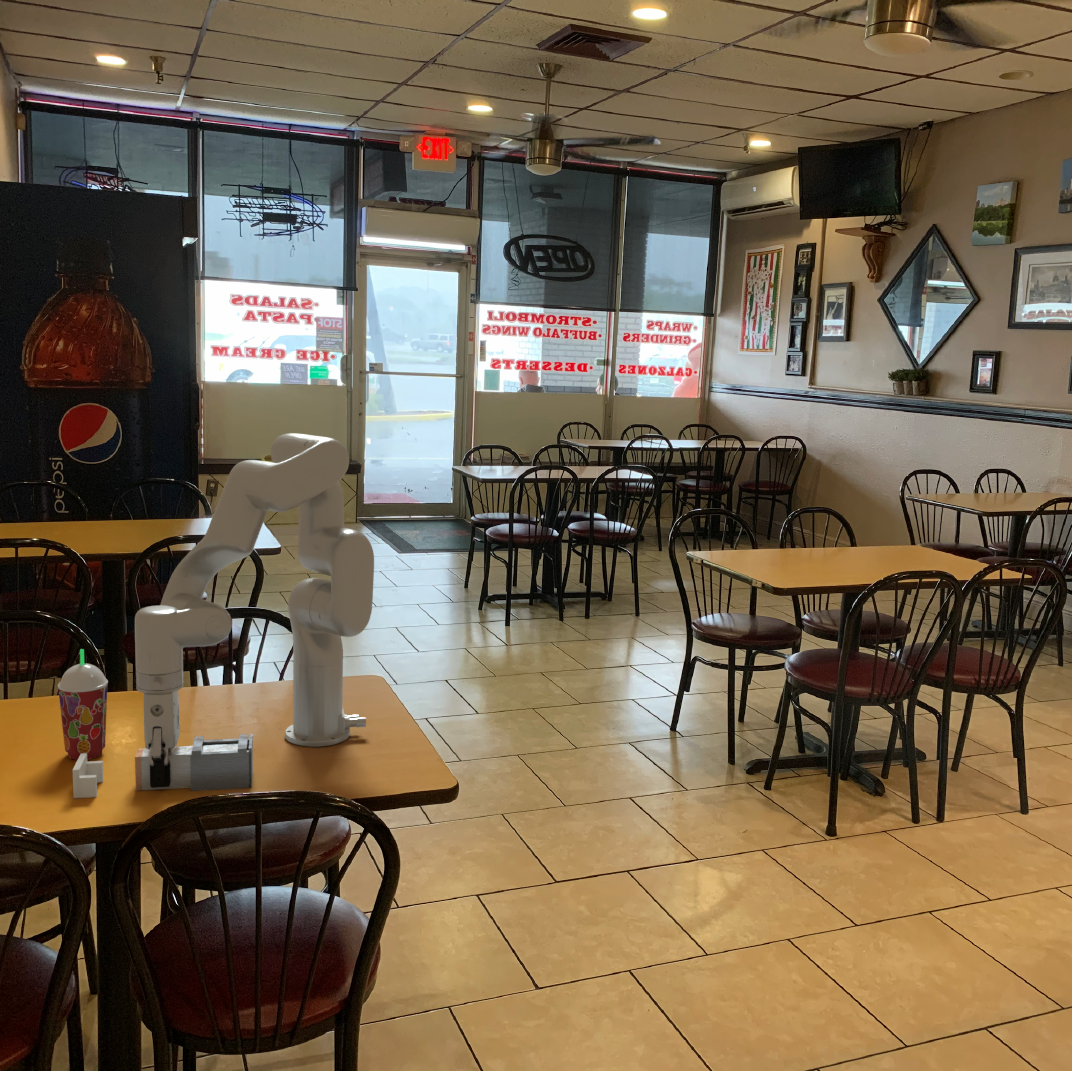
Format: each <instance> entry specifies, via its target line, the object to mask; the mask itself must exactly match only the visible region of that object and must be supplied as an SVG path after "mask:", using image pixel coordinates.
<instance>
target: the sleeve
mask: <svg viewBox="0 0 1072 1071" xmlns="http://www.w3.org/2000/svg"><path fill="white" fill-rule="evenodd" d="M253 737H254V734H253V733H250V734H248V733H243V734H238V737H237V738H219V739H217V738H216V739H215V738H214V739H205V736H204V735H203V736H194V739H193V741H192V746H193V748H192V753H191V754H190V770H191V788H190V792H194V791H195V792H199V791H200V792H201V791H216V790H218V791H219V790H232V789H233V790H235V789H236V790H237V789H252V787H253V775H254V773H253V772H254V751H253V750H254V741H253V740H254V738H253ZM221 744H238V750H237V751H217V752H202V747H203V745H221Z"/></svg>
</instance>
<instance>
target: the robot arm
mask: <svg viewBox="0 0 1072 1071" xmlns="http://www.w3.org/2000/svg"><path fill="white" fill-rule="evenodd" d="M270 457H271V461H272V462H271V461H266V460H259V459H258V460H257V459H248V460H247V459H246V460H242V461H240V462H237V463H236V464H235V465H234V466H233V467H232V469H231V470H230V472H229V473H228V474H229V475H228V476H227V479H226V482H225V483H224V486H223V490H222V492H221V494H220V497H219V499H218V502H217V504H216V506H215V510H214V511H213V515H212V517H211V520H210V522H209V525H208V528H207V530H206V533H205V535H204V536H203V538H201V540H200V541H199V542H198V543H197V544H196V545H194V547H192V549H191V550H189V552H188V553H187V554H186V555H185V556H184V557H183V558H182V560H180V562H179V563H178V564H177V566H176V567H175V568H174V571H172V573H171V576H170V578H169V580H168V583H167V585H166V588H165V590H164V593H163V596H162V598H161V602H160V604H159V605H150V606H145V607H141V608H140V609H139V610H137V612H136V613H135V616H134V643H135V644H134V645H135V646H134V648H135V649H134V650H135V678H136V679H135V684H136V685H135V687H136V688H135V689H136V691H138V692H140V693H142V694H143V729H144V730H143V734H144V735H143V736H144V746H145V747H144V748H146V749H148V750H150V787H152V788H157V787H169V786H170V763H168V748H172V749H174V748H175V747H178V746H177V745H178V742H179V737H180V734H181V733H180V732H181V722H180V720H181V719H180V698H179V690H181V689H182V688H183V687H184V656H183V655H184V654H183V652H184V651H183V649H184V648H191V647H194V648H195V647H196V648H197V647H209V646H210V647H211V646H214V645H216V644H220V643H221V642H222V641H224V640H225V639H227V637H228V636H229V634H230V633H231V630H232V627H233V620H232V617H231V614H230V613H229V611H228V610H227V609H226V608H225V607H223V606H222V605H219V604H218V603H215V602H213V601H212V602H211V601H208V600H206V599H203V597H204V594H205V593H206V592H205V591H206V589H207V587H208V585H209V584H210V582H211V581H212V579H213V578H214V577H215V576H216V575H217V573H220V571H221V570H223V569H225V568H226V567H227V566H229V565H231V564H234V563H236V562H238V561H241V560H243V559H245V558H247V557H249V556H250V555H251V554H252V552H253V551H254V549H255V546H256V543H257V540H258V538H259V535H260V533H261V529H262V527H263V524H264V522H265V519H266V516H267V515H268V511H271V512H275V513H282V512H287V511H290V510H293V509H295V508H297V507H298V528H297V533H298V534H297V557H298V558H297V559H298V561H299V563H300V565H301V566H302V567H303V568H304V569H307V570H308V571H311V572H313V573H318V574H321V575H325V576H329V577H330V580H329V579H324V578H319V577H311V578H310V577H309V578H305V579H302V580H301V581H299V582H298V583H296V585H294V587H293V588H292V590H291V591H290V593H289V597H288V602H287V603H288V604H287V605H288V606H287V607H288V608H287V609H288V616H289V620H290V626H291V631H292V633H291V634H292V644H293V645H292V646H293V649H292V650H293V651H292V652H293V653H292V654H293V655H292V656H293V660H292V663H293V664H292V668H293V669H292V675H293V676H292V685H293V686H292V689H293V692H292V696H293V697H292V698H293V700H292V717H293V718H292V724H290V725H289V726H288V727H287V728H286V729H285V731H284V737H285V740H287V742H289V743H291V744H293V745H297V746H300V747H301V746H302V747H310V748H311V747H313V748H315V747H317V748H319V747H327V746H328V747H329V746H333V745H337V744H340V743H342V742H344V741H346V740H348V738H349V737H350V736H351V728H366V727H367V718H366V717H362V716H361V717H359V714H352V715H351V714H349V715H348V714H347V713H345V712H344V711H345V710H344V707H343V701H344V700H343V699H344V698H343V695H344V694H343V690H344V689H343V687H344V686H343V684H344V683H343V681H344V648H343V647H344V646H343V640H342V637H344V638H345V637H346V638H352V637H356V636H358V635H360V634H361V633H362V632H363V631H364V630H365V629H366V628H367V626H368V624H369V622H370V619H371V616H372V610H373V600H374V580H375V579H374V577H375V574H374V572H375V554H374V550H373V546H372V544H371V542H370V540H369V538H368V537H367V536H366V535H365V534H364V533H362V532H361V531H359V530H356V529H352V528H347V527H346V525H345V504H344V503H345V502H344V500H345V499H344V494H343V493H344V492H343V489H342V487H341V483H340V481H341V480H342V479H343V478H344V476H345V475H346V473H347V471H348V469H349V465H350V455H349V453H348V450H347V447H346V446H345V445H344V444H343V443H342V442H341V441H339V440H337V439H335V438H333V437H328V436H321V435H313V434H306V433H295V432H294V433H293V432H289V433H284V434H281V435H279V436H277V437H276V438H275V439H274V440H273V441H272V444H271V447H270ZM150 748H151V749H150ZM161 751H164V754H162V752H161Z"/></svg>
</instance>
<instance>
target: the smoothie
mask: <svg viewBox="0 0 1072 1071" xmlns="http://www.w3.org/2000/svg"><path fill="white" fill-rule="evenodd" d="M79 653H80V654H79V658H80V663H78V664H74V665H73V666H71V667H69V668H68V669H67V670H66V671H65V672H64V673H63V675H62V677H61V680H60V681H59V682H58V684H57V688H58V698H59V709H60V717H61V725H62V726H61V727H62V733H63V735H62V736H63V744H64V751H65V752H66V753H67V756H68V758H69V759H72V760H74V761H75V760H76V761H77V760H78V758H79V756H80V754H83V753H87V761H88V760H92V759H95V758H97V757H100V756H101V755H102V754H103V749H104V748H106V735H107V734H106V731H107V708H108V707H107V706H108V705H107V703H108V683H109V680H108V679H107V678H106V677H105V675H104V673H103V672H102V670H101V669H99V667H97V666H96V665H94V664H91V663H85V649H84V648H83V649H82V648H81V649H80V650H79Z"/></svg>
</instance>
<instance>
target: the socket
mask: <svg viewBox="0 0 1072 1071" xmlns="http://www.w3.org/2000/svg"><path fill="white" fill-rule="evenodd" d="M103 782H104V761H103V760H95V761H94V760H93V761H88V760H87V753H83V754H80V756H79V758H78V760H76V762H75V765H74V766H73V768H72V787H73V788H72V789H73V790H72V792H73V799H83V798H87V799H88V798H97V796H98V783H103Z"/></svg>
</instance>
